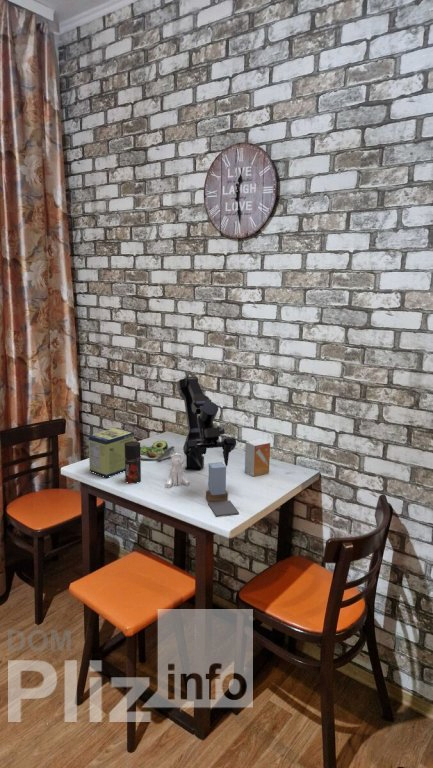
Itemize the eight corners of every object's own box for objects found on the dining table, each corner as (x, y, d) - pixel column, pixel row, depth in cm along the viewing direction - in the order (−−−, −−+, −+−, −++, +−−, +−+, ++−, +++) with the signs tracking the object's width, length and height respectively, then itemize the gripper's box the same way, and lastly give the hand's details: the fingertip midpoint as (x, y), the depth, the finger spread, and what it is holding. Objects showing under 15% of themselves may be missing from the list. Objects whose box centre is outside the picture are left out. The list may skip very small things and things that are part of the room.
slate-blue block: (208, 489, 188) (208, 463, 186) (221, 488, 189) (222, 462, 187) (212, 495, 183) (212, 468, 181) (225, 493, 184) (226, 466, 182)
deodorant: (143, 479, 205) (143, 442, 202) (136, 484, 199) (135, 446, 196) (130, 476, 206) (129, 440, 203) (122, 482, 201) (121, 445, 198)
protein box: (135, 467, 217) (134, 431, 214) (106, 478, 204) (105, 440, 201) (117, 462, 223) (116, 427, 220) (88, 472, 210) (87, 435, 207)
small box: (253, 477, 208) (254, 445, 206) (244, 472, 213) (245, 441, 211) (269, 473, 213) (270, 442, 210) (259, 468, 218) (260, 438, 215)
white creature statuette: (165, 488, 196) (165, 458, 193) (162, 480, 204) (162, 450, 201) (190, 487, 198) (190, 456, 195) (186, 478, 206) (186, 449, 204)
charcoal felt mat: (208, 504, 183) (208, 502, 182) (230, 502, 185) (230, 500, 185) (216, 516, 173) (216, 515, 173) (239, 514, 175) (239, 512, 175)
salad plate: (178, 462, 224) (178, 452, 223) (136, 464, 221) (135, 454, 220) (173, 448, 243) (173, 438, 242) (134, 449, 240) (134, 440, 239)
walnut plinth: (205, 498, 187) (205, 490, 187) (224, 496, 189) (224, 488, 189) (208, 503, 184) (208, 495, 183) (227, 500, 186) (227, 493, 185)
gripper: (185, 419, 187) (192, 459, 178) (235, 416, 192) (244, 454, 184) (180, 434, 196) (187, 472, 187) (228, 431, 201) (237, 468, 193)
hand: (214, 466), depth 188 cm, fingers open, 9 cm apart
